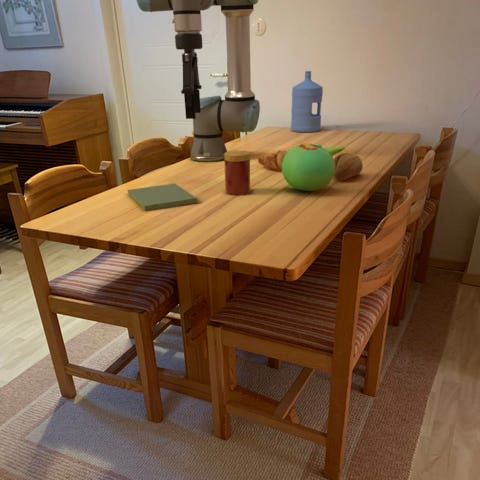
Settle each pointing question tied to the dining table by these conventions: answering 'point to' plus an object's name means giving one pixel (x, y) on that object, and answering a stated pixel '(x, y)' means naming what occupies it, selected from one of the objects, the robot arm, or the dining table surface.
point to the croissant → (273, 161)
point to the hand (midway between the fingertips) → (193, 115)
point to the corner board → (161, 196)
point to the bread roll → (347, 166)
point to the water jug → (306, 105)
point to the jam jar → (237, 177)
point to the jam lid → (236, 156)
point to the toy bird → (309, 166)
